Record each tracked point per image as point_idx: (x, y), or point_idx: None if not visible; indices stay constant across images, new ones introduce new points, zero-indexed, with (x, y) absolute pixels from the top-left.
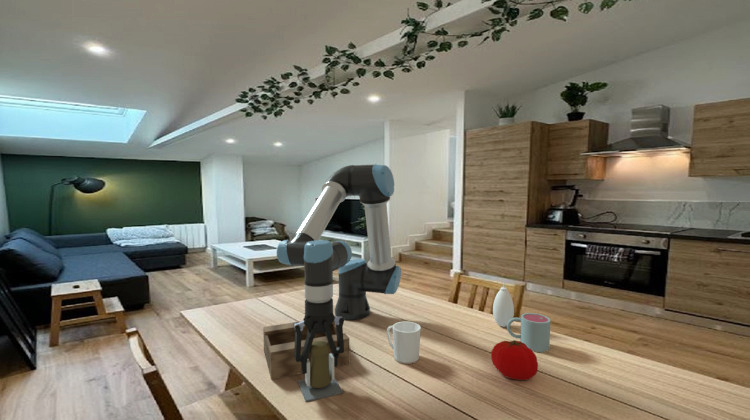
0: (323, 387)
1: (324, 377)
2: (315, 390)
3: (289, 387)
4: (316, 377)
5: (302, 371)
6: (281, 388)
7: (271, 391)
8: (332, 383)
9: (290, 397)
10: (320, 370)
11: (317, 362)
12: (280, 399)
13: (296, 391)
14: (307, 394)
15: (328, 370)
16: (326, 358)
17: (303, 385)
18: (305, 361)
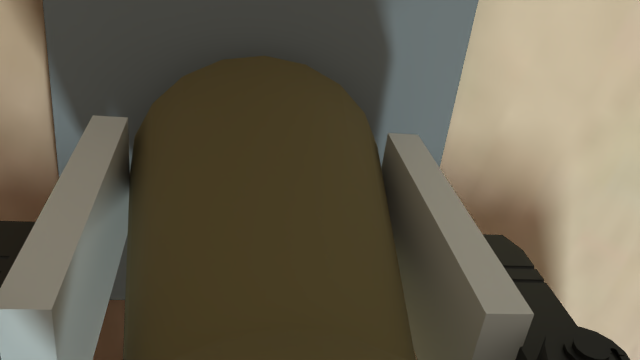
0: None
1: (237, 111)
2: None
3: None
4: (344, 141)
5: (526, 256)
6: (554, 264)
7: (634, 256)
8: None
9: (557, 112)
10: (300, 173)
11: (357, 279)
12: (637, 122)
13: (473, 175)
14: (423, 66)
15: (153, 187)
16: (162, 321)
17: None
18: (577, 338)
